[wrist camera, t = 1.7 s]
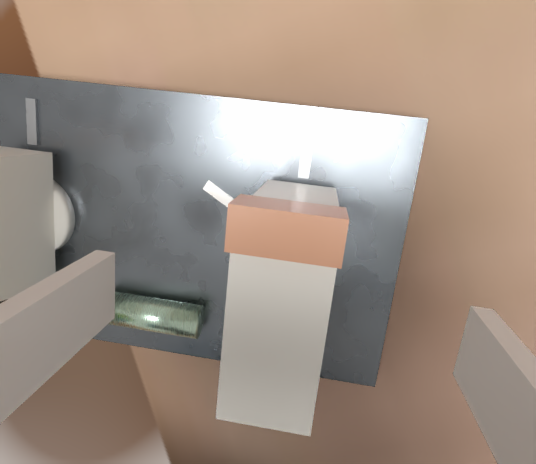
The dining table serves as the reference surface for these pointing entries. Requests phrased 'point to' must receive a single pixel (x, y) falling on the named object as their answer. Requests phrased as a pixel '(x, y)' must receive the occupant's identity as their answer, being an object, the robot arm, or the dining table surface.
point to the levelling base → (216, 201)
